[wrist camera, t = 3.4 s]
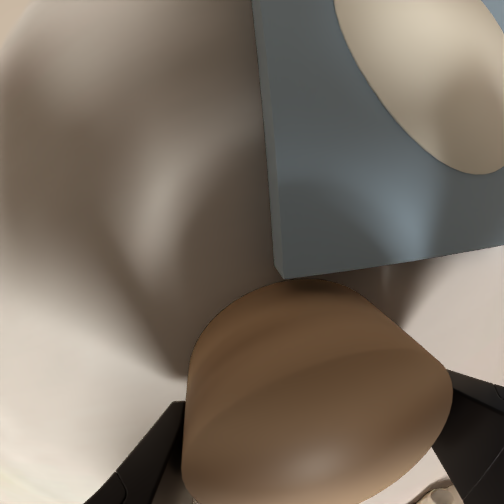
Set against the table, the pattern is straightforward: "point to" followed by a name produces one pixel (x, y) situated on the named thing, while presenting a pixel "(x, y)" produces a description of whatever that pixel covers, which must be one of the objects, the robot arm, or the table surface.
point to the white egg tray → (442, 497)
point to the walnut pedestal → (307, 399)
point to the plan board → (381, 130)
